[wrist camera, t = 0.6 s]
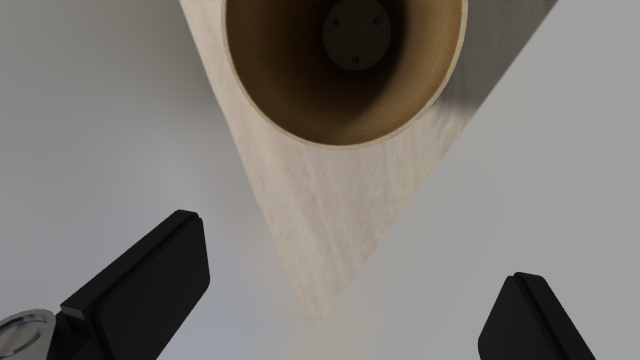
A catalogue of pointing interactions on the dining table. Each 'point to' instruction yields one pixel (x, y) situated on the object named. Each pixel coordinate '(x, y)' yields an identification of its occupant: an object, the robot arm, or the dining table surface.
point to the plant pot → (342, 64)
